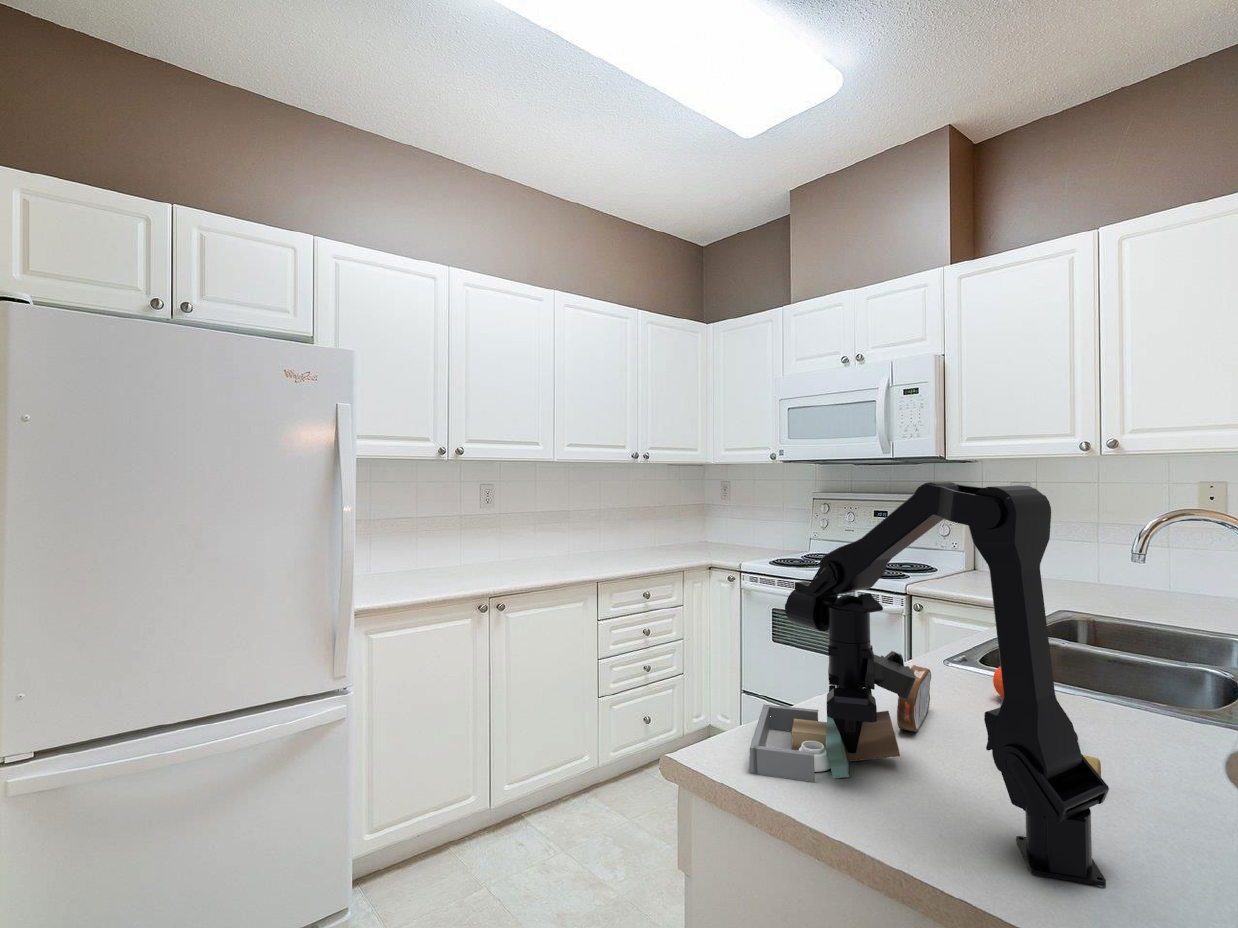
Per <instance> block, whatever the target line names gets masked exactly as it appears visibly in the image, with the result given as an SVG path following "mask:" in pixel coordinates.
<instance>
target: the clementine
mask: <svg viewBox="0 0 1238 928" xmlns="http://www.w3.org/2000/svg"><path fill="white" fill-rule="evenodd" d="M992 683H993V688H994V689H995V692H996V693H997V694H998V695H999V697H1001V698H1002V699H1003V694H1004V693H1003V684H1002V675H1001V666H998V667H997V669H996V670H995V672H994V674H993V677H992Z"/></svg>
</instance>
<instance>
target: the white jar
mask: <svg viewBox="0 0 1238 928" xmlns="http://www.w3.org/2000/svg"><path fill="white" fill-rule="evenodd" d="M797 751H805V752H813V753H814V772H815V773H819V772H820V773H821V772H825V771H829V770H831V767H830V764H829V760H828V756H827V752H826V750H825V749H824V745H823V744H822V743H820V742H816V741H805V742H803V743H802V745H801V747H800V748H799V750H797Z"/></svg>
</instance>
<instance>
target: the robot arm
mask: <svg viewBox="0 0 1238 928" xmlns="http://www.w3.org/2000/svg"><path fill="white" fill-rule="evenodd" d="M943 520H947V521H949V522H952V523H955V524H961V525H964V526H968V530H969V532H970V536H971V540H972V543H973V544H974V545H973V546H975V548H976V550H977V551H978V552H979V553H980V555H981V556H982V558H983V560H984V562H985V563H986V564H987V567H988V570H989V577H990V587H991V596H992V604H993V612H994V614H993V615H994V620H995V621H994V622H995V630H996V631H995V632H996V638H997V639H996V640H997V645H998V648H997V649H998V657H999V665H1000V666H1001V675H1002V684H1003V693H1004V694H1003V698H1002V701H1001V703H1000V706H999V707H997V708H993V709H991V710H987V711H985V712H984V716H983V717H984V718H983V719H984V720H983V721H984V725H985V727H986V732H987V744H986V747H985V749H986V751H988V752H989V751H991V756H992V759H993V763H994V765H995V767H996V769H997V770H998V772H1000V774H1001V776H1002V780H1003V782H1004V785H1005V788H1006V790H1007V793H1008V797H1009V799H1010V803H1011V804H1012V805H1013V806H1014V807H1018V808H1020V809H1022V810H1023V811H1024V812H1025V836H1023V835H1018V836H1016V837H1015V841H1016V844H1017V846H1018V848H1019V850H1020V852H1021V854H1022V856H1023V859H1024V861H1025V864H1026V865H1027V867H1028V869H1029V871H1030V872H1031V874H1033V875H1036V876H1039V877H1040V876H1041V877H1046V878H1047V877H1048V878H1052V879H1053V878H1054V879H1060V880H1065V881H1071V882H1077V883H1084V884H1090V885H1095V886H1101V887H1105V886H1106V885H1107V879H1106V878H1105V876H1104V874H1103V873H1102V871H1101V870H1100V867H1098V865H1097V863H1096V862H1095V861H1094V858H1093V849H1092V848H1093V847H1092V843H1093V841H1092V817H1091V816H1092V811H1091V808H1092V807H1094V806H1096V805H1101V804H1104V801H1105V799H1106V797H1107V795H1108V792H1109V791H1110V787H1109V786H1108V784H1107V783H1106V782H1105V780H1104V779H1103V778H1102V776H1101V777H1100V776H1099V775H1098V773H1097V772H1096V771H1095V770H1094V768H1093V767H1092V766H1091V765H1090V764H1089V762H1088V761H1087V760H1086V759H1085V758H1084V756H1083V755H1084V754H1082V751H1081V748H1080V745H1079V741H1077V737H1076V734H1077V733H1076V734H1075V732H1076V730H1075V728H1074V725H1073V722H1072V720H1071V719H1070V717H1069V716H1068V714H1067V713H1066V712H1065V710H1064V709H1063V707H1062V706H1061V704H1060V702H1059V701H1058V699H1057V696H1056V691H1055V682H1054V681H1055V680H1054V673H1053V672H1054V671H1053V666H1052V658H1051V657H1052V656H1051V649H1050V642H1049V641H1050V640H1049V631H1048V624H1047V615H1046V607H1045V599H1044V591H1043V582H1042V574H1041V563H1042V560H1043V557H1044V554H1045V552H1046V550H1047V548H1048V547H1047V546H1048V544H1049V542H1050V539H1051V537H1050V536H1051V526H1052V525H1051V521H1052V507H1051V503H1050V501H1049V499H1048V497H1047V496H1046V495H1045V494H1043V493H1042V492H1040V491H1039V490H1038V489H1037V488H1034V487H1032V486H1030V485H1020V484H1018V485H1000V486H986V487H980V486H971V485H964V484H963V485H962V484H958V483H955V482H951V481H935V482H933V481H932V482H931V481H929V482H924V483H922V484H921V485H920V486H918V487H917V489H916V490H915V491H914V493H913V494H912V495H911V496H909V497H908V498H907V499H906V500H905V501H903V503H902V504H900V505H899V506H897V508H895V509H894V510H893V511H892V512H891V513H890V514H888V515H887V516H886V517H885V518H883V519H882V520H881V521H880V522H879V523H878V524H876V525H875V526H874V527H873V528H872V529H870V530H869V531H868V532H867V533H866V534H865V535H864V536H862V537H861V538H859V539H857V540H856V541H853V542H850V543H847V544H845V545H842V546H840V547H837V548H835V549H834V550H832V551H830V552H828V553H826V554H825V555H823V556H822V557H821V558H820V561H819V568H818V569H817V571H816V573H815V575H814V576H813V577H812V580H811V581H810V582H809V581H807V580H806V581H804V580H803V581H801V580H800V581H795V582H794V589H793V590H792V591H791V592H790V594H789V595H788V596H787V598H786V602H785V604H784V611H785V616H786V617H787V619H788V620H789V622H791V623H792V624H794V625H799V626H801V627H806V628H809V629H812V630H815V631H819V632H828V636H827V637H828V638H827V639H828V644H827V645H828V646H827V647H828V648H827V649H828V651H827V652H828V655H827V656H828V669H827V672H828V673H827V676H828V692H827V693H826V717H827V716H828V717H830V718H833V720H834V722H835V725H836V727H837V729H838V731H839V733H840V736H841V738H842V740H843V743H844V745H845V747H846V749H847V752H848V753H854V754H855V753H856V751H857V746H858V741H859V737H860V732H861V728H862V723H863V722H872V723H873V722H877V712H878V710H877V709H878V708H877V707H878V706H877V702H876V698H875V696H874V695H873V694H872V693H873V692H872V690H875V687H876V686H878V687H879V688H882V689H885V690H887V691H889V692H892V693H894V694H896V695H897V696H898V697H902V698H905V699H908V697H909V695H910V692H911V689H912V687H913V684H914V682H915V679H916V677H915V674H914V671H913V670H912V669H910V668H911V667H910V666H909V665H906V666H905V663H904V657H903V654H901V653H898V652H895V651H893V650H891V651H890V652H889V653H888V654H887V655H885V656H884V655H876V654H875V653H874V651H873V649H874V648H873V644H872V643H871V613H876V612H882V611H883V610H884V607H883V606H882V604H881V603H880V602H879V601H878V600H876V599H875V598H874V596H873V595H872V594H871V593H861V594H859V595H858V596H855V595H851V594H849V593H854V592H856V591H857V592H858V591H864V590H869V589H871V588H872V587H874V586H875V584H876V583H877V582H878V581H879V580H880V579H881V577H882V576H883V575H884V574H885V573H886V569H887V566H888V564H889V562H890V561H891V560H892V559H893V558H895V557H896V556H897V555H899V554H900V553H901V552H902V551H904V550H905V549H907V547H909V546H910V545H912V544H913V543H914V542H915V541H917V540H918V539H920V538H921V537H922V536H923V535H924V534H926V533H927V532H929V531H930V530H931V529H933V528H934V527H935V526H937V525H938V524H939V523H940V522H942V521H943ZM842 594H844V595H842ZM838 595H842V596H838ZM1000 666H999V667H1000ZM875 685H876V686H875Z"/></svg>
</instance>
